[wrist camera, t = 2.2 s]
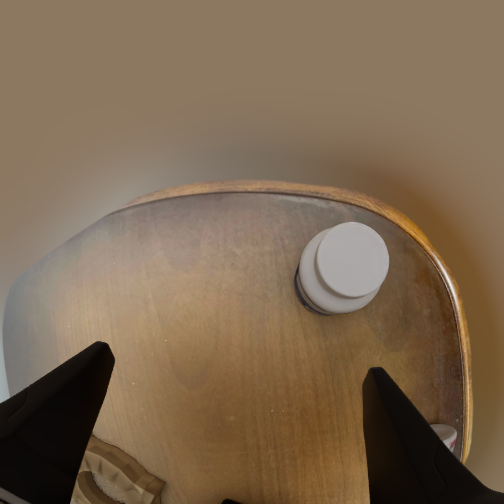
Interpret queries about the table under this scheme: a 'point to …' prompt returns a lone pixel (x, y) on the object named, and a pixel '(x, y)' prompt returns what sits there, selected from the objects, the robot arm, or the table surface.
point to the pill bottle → (341, 269)
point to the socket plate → (114, 477)
